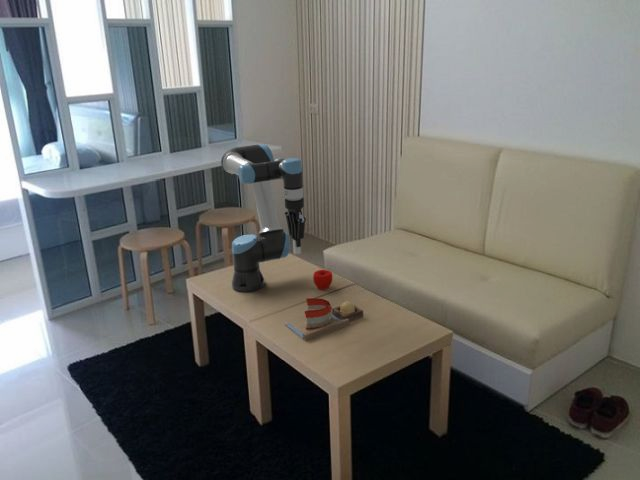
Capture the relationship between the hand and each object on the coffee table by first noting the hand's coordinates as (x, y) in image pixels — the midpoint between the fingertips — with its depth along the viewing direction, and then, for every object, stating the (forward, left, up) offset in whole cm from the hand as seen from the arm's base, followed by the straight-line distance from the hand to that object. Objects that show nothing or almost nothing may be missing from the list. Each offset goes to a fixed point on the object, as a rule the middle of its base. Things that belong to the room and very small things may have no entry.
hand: (297, 253), depth 235 cm
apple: (-10, +18, -25) cm, 32 cm away
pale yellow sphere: (+19, +11, -24) cm, 33 cm away
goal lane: (+17, -3, -24) cm, 30 cm away
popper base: (+19, +11, -24) cm, 33 cm away
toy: (+16, -1, -25) cm, 30 cm away
